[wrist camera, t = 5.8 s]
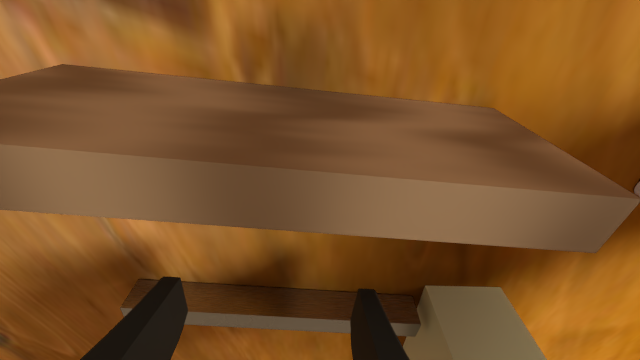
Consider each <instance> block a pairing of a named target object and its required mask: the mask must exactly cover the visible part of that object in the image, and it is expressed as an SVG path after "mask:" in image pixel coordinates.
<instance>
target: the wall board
mask: <svg viewBox="0 0 640 360" xmlns="http://www.w3.org/2000/svg"><path fill="white" fill-rule="evenodd" d="M639 203H640V197H638V196H636V195H635V194H633V193H631V192H630V191H628V190H626V189H625V188H623V187H622V186H620V185H618V184H617V183H615V182H613V181H612V180H610V179H609V178H607V177H605V176H604V175H602V174H600V173H599V172H597V171H595V170H594V169H592V168H591V167H589V166H587V165H586V164H584V163H582V162H581V161H579V160H577V159H576V158H574V157H573V156H571V155H569V154H568V153H566V152H564V151H563V150H561V149H559V148H558V147H556V146H555V145H553V144H551V143H550V142H548V141H546V140H545V139H543V138H541V137H540V136H538V135H537V134H535V133H533V132H532V131H530V130H528V129H527V128H525V127H523V126H522V125H520V124H519V123H517V122H515V121H514V120H512V119H510V118H509V117H507V116H505V115H504V114H502V113H501V112H499V111H497V110H496V109H494V108H486V107H476V106H466V105H456V104H447V103H437V102H427V101H417V100H407V99H398V98H388V97H378V96H368V95H358V94H349V93H339V92H329V91H319V90H309V89H300V88H290V87H280V86H270V85H260V84H251V83H241V82H231V81H221V80H211V79H202V78H192V77H182V76H172V75H162V74H153V73H143V72H133V71H123V70H113V69H104V68H94V67H84V66H74V65H64V64H61V65H57V66H53V67H49V68H45V69H41V70H37V71H33V72H29V73H25V74H21V75H17V76H13V77H9V78H5V79H0V210H12V211H26V212H39V213H53V214H67V215H80V216H94V217H108V218H121V219H135V220H149V221H162V222H176V223H190V224H204V225H217V226H231V227H245V228H258V229H272V230H286V231H299V232H313V233H327V234H340V235H354V236H368V237H381V238H395V239H409V240H422V241H436V242H450V243H463V244H477V245H491V246H504V247H518V248H532V249H546V250H559V251H573V252H587V253H596V252H597V251H598V250H599V249H600V248H601V247H602V245H603V244H604V243H605V242H606V241H607V240H608V239H609V237H610V236H611V235H612V234H613V233H614V232H615V230H616V229H617V228H618V227H619V226H620V225H621V223H622V222H623V221H624V220H625V219H626V218H627V217H628V215H629V214H630V213H631V212H632V211H633V210H634V208H635V207H636V206H637V205H638V204H639Z"/></svg>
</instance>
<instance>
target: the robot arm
mask: <svg viewBox="0 0 640 360" xmlns="http://www.w3.org/2000/svg"><path fill="white" fill-rule="evenodd" d="M634 193H635V194H636V195H638V196H639V197H640V181H639V183H638V184H637V185H636V187H635V188H634ZM187 313H188V307H187V303H186V299H185V295H184V290H183V286H182V282H181V278H178V277H163V278H161V279H160V280H159V281H158V282H157V284H156V285H155V286H154V287H153V288H152V289H151V290H150V291H149V292H148V293H147V294H146V295H145V296H144V297H143V298H142V299H141V300H140V302H139V303H138V304H137V305H136V306H135V307H134V308H133V309H132V310H131V311H130V312H129V313H128V314H127V315H126V316H125V317H124V318H123V319H122V320H121V321H120V322H119V323H118V324H117V325H116V326H115V327H114V328H113V329H112V330H111V331H110V332H109V333H108V334H107V335H106V336H105V337H104V338H103V339H102V340H101V341H99V342H98V343H97V344H96V345H95V346H94V347H93V348H92V349H91V350H90V351H89V352H88V353H87V354H85V355H84V356H83V357H82V358H81V359H80V360H170V359H171V357H172V355H173V352H174V350H175V348H176V346H177V343H178V341H179V338H180V335H181V332H182V329H183V326H184V323H185V320H186V317H187ZM350 327H351V348H352V355H353V360H410V359H409V357H408V356H407V354H406V352H405V350H404V348H403V347H402V345H401V343H400V341H399V339H398V337H397V335H396V333H395V332H394V330H393V328H392V326H391V324H390V321H389V319H388V317H387V315H386V313H385V311H384V309H383V307H382V304H381V302H380V300H379V297H378V295H377V293H376V291H375V290H373V289H358V292H357V296H356V300H355V303H354V307H353V311H352V315H351V318H350Z"/></svg>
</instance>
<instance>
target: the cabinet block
mask: <svg viewBox="0 0 640 360" xmlns="http://www.w3.org/2000/svg"><path fill="white" fill-rule="evenodd" d="M417 312H418V315H419V319H420V322H421V327H420V329H419V331H418V333H417V334H416V336H415V337H411V336H407V337H406V339H405V342H404V345H403V348H404V350H405V352H406V354H407V356H408V357H409V359H410V360H547V359H546V358H545V356H544V355H543V353H542V351H541V350H540V348H539V347H538V345H537V344H536V342H535V340H534V339H533V337H532V336H531V334H530V333H529V331H528V330H527V328H526V326H525V325H524V323H523V322H522V320H521V319H520V317H519V315H518V314H517V312H516V311H515V309H514V308H513V306H512V305H511V303H510V301H509V300H508V298H507V297H506V295H505V294H504V292H503V290H502V289H501V287H469V286H426V285H425V287H424V290H423V293H422V296H421V298H420V301H419V304H418V307H417Z"/></svg>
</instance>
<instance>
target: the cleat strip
mask: <svg viewBox="0 0 640 360" xmlns="http://www.w3.org/2000/svg"><path fill="white" fill-rule="evenodd" d="M158 281H159V280H144V279H138V281H137V283H136V284H135V286H134V287H133V289H132V290H131V292H130V293H129V295H128V296H127V298H126V300H125V301H124V303H123V304H122V306H121V307H120V309H121V311H122V313H123V315H124V317H125V316H126V315H127V314H128V313H129V312H130V311H131V310H132V309H133V308H134V307H135V306H136V305H137V304H138V303H139V302H140V300H141V299H142V298H143V297H144V296H145V295H146V294H147V293H148V292H149V291H150V290H151V289H152V288H153V287H154V286H155V285H156V284H157V282H158ZM182 286H183V290H184V295H185V299H186V303H187V307H188V313H187V317H186V320H185V323H184V324H185V325H204V326H223V327H242V328H261V329H279V330H298V331H317V332H336V333H351V327H350V318H351V315H352V311H353V307H354V303H355V300H356V296H357V293H356V292H340V291H323V290H307V289H291V288H275V287H258V286H242V285H226V284H209V283H193V282H182ZM377 295H378V297H379V300H380V302H381V304H382V307H383V309H384V311H385V313H386V315H387V317H388V319H389V321H390V324H391V326H392V328H393V330H394V332H395V333H396V335H397V336H411V337H415V336H416V334H417V333H418V331H419V329H420V327H421V322H420V319H419V315H418V312H417V309H416V306H415V303H414V300H413V297H412V296H405V295H388V294H377Z"/></svg>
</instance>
